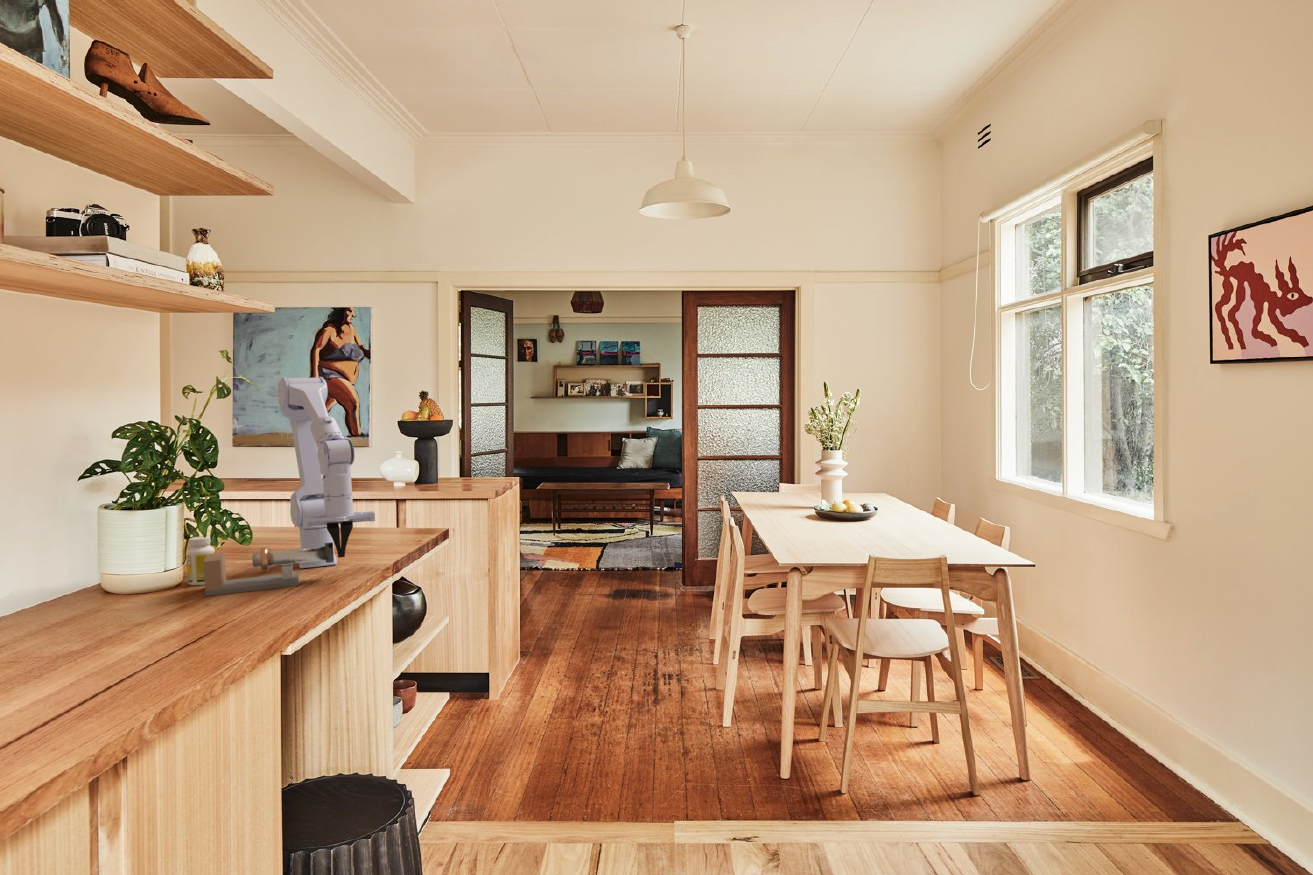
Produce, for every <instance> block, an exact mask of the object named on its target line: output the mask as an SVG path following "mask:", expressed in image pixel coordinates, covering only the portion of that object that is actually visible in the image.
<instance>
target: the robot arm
mask: <svg viewBox="0 0 1313 875" xmlns="http://www.w3.org/2000/svg"><path fill="white" fill-rule="evenodd" d="M328 389H329V388H328V384H327V381H326V379H324V377H323V376H318V377H281V378H280V379H279V381H278V382H277V399H278V403H279V411H281V412H280V413H281V415H282V416H283V417H285V418H288V420H289V424H290V426H291V431H292V439H293V444H294V450H295V456H296V458H295V459H296V462H297V469H298V476H299V481H300V486H299V487H298V488H297V489H296V490H295V491H294V492H292V494H291V496H290V499H289V505H290V510H289V511H290V518H291V523H292V524H293V525H294V526H295V527H296V528H298V529H299V541H300V542H299V544H300V549H302V548H312V547H322V546H325V543H330V542H333V555H334V563H326V560H322V561H312V562H303V563H299V566H298V567H299V569H305V568H315V567H316V568H317V567H324V566H325V567H326V566H335V565H338V559H337V557H338V558H345V557H346V548H347V544H348V541H349V538H350V535H351V533H352V530H353V528H354V523H360V522H361V523H364V522H371V523H372V522H375V521H376V515H375V514H376V513H375V511H374V510H373V511H354V504H353V503H354V502H353V501H354V500H353V486H352V467H351V466H352V465H353V464H354V462H355V447H354V444H353V441H352V439H351V438H349V437H347V436H344V435H343V432H342V429H341V428H340V426H339V424H338V422H337V420H336V419H335V418H334V417H332V416H329V413H328V410H327V407H326V402H327V398H328V391H329V390H328ZM335 549H336V551H337V554H335Z"/></svg>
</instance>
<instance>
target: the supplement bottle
mask: <svg viewBox="0 0 1313 875" xmlns="http://www.w3.org/2000/svg"><path fill="white" fill-rule="evenodd" d="M203 536H204V535H202V537H201V536H193V537H190V538H189V539H188V545H189V546H190V548H188V549H187V550H186V552H185V553H186V554H185V555H186V571H187V582H188V585H190V586H203V585H204V586H205V580H204V565H203V562H204V560H205V558H206V557H207V555H208V554H214V553H216V550H215V548H214V547H213V546H212V545H211V543H212V542H211V536H208V535H205V536H206V537H205V538H204V537H203Z"/></svg>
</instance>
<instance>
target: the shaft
mask: <svg viewBox="0 0 1313 875" xmlns="http://www.w3.org/2000/svg"><path fill="white" fill-rule="evenodd" d="M268 548H269V547H267V546H264V547H260V552H253V553H252V558H251V559H252V568H261V572H268V571H270V570H269V569H270V567H273V566H282V565H284V564H300V563H303V562H312V561H322V560H326V563H334V555H333V542H330V543H325V546H322V547H312V548H302V549H301V548H293V549H283V550H273V551H269V549H268Z"/></svg>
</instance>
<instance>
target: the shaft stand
mask: <svg viewBox="0 0 1313 875" xmlns="http://www.w3.org/2000/svg"><path fill="white" fill-rule="evenodd" d="M225 555H226V554H225V552H218V553H217V552H215V553H214V554H208V555H207V557H206V558H205V560H204V562H203V565H204V580H205V585H204V593H205V597H209V596H217V595H218V596H219V595H226V594H227V595H228V594H237V593H245V592H254V591H262V590H270V589H279V588H281V589H282V588H288V587H298V586H299V580H300V574H299V572H294V569H293V567H294V566H293V564H294V563H293V564H283V565H281V574H275V575H264V576H255V577H247V578H246V577H244V578H235V579H227V572H226V571H227V570H226V558H225Z"/></svg>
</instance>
